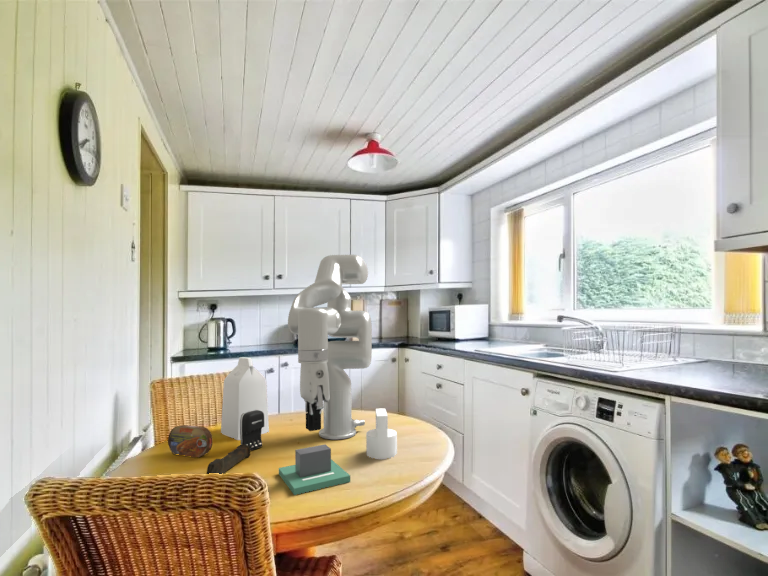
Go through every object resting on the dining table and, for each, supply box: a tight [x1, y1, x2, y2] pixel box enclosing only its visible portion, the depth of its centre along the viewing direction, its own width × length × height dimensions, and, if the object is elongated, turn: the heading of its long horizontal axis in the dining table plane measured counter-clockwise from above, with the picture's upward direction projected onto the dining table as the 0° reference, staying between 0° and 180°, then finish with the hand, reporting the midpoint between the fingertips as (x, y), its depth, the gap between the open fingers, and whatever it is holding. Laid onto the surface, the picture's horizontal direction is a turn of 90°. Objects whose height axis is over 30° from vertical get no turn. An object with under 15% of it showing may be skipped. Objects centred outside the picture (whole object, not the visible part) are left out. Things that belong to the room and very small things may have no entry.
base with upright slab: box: [365, 407, 398, 460], centre depth 117 cm, size 9×9×12 cm
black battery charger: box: [240, 410, 264, 452], centre depth 123 cm, size 7×4×11 cm, turn 146°
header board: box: [278, 458, 351, 496], centre depth 101 cm, size 14×14×5 cm
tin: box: [167, 424, 213, 458], centre depth 118 cm, size 15×3×8 cm, turn 70°
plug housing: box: [294, 443, 332, 478], centre depth 101 cm, size 8×4×6 cm, turn 119°
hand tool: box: [206, 444, 251, 474], centre depth 107 cm, size 19×4×5 cm, turn 170°
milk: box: [220, 356, 270, 441], centre depth 140 cm, size 12×12×26 cm
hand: (313, 428), depth 101 cm, fingers closed
